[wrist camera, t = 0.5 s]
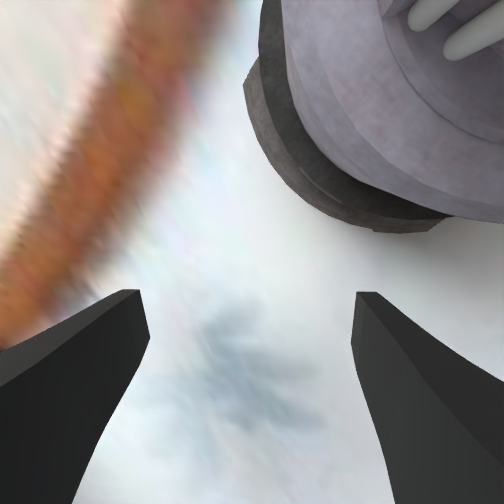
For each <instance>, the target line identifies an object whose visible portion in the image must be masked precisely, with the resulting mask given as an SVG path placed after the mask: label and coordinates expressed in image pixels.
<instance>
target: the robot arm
mask: <svg viewBox="0 0 504 504" xmlns="http://www.w3.org/2000/svg"><path fill="white" fill-rule="evenodd" d="M149 340H150V334H149V330H148V325H147V321H146V316H145V312H144V307H143V303H142V298H141V294H140V290H134V289H122V290H120V291H118V292H115V293H113V294H111V295H109V296H108V297H106V298H104V299H102V300H100V301H98V302H96V303H95V304H93V305H91V306H89V307H88V308H86V309H84V310H82V311H80V312H79V313H77V314H75V315H73V316H71V317H70V318H68V319H66V320H64V321H62V322H60V323H58V324H57V325H55V326H53V327H51V328H49V329H47V330H45V331H43V332H41V333H39V334H37V335H35V336H33V337H32V338H30V339H28V340H25V341H23V342H21V343H19V344H17V345H15V346H13V347H11V348H9V349H6V350H4V351H2V352H0V504H72V502H73V499H74V497H75V494H76V492H77V489H78V487H79V484H80V482H81V480H82V477H83V475H84V472H85V470H86V468H87V466H88V463H89V461H90V459H91V457H92V454H93V452H94V450H95V447H96V445H97V443H98V441H99V439H100V437H101V435H102V433H103V431H104V429H105V427H106V425H107V423H108V422H109V420H110V418H111V416H112V414H113V413H114V411H115V409H116V407H117V405H118V404H119V402H120V400H121V398H122V396H123V395H124V393H125V391H126V389H127V387H128V386H129V384H130V382H131V380H132V378H133V376H134V375H135V373H136V371H137V369H138V367H139V365H140V363H141V361H142V358H143V356H144V353H145V351H146V348H147V345H148V342H149ZM351 346H352V351H353V357H354V362H355V367H356V371H357V375H358V378H359V381H360V384H361V387H362V390H363V393H364V396H365V399H366V402H367V405H368V408H369V411H370V414H371V417H372V420H373V423H374V426H375V429H376V432H377V435H378V438H379V441H380V444H381V448H382V451H383V455H384V458H385V462H386V466H387V471H388V475H389V479H390V484H391V488H392V492H393V497H394V501H395V504H504V382H503V381H501V380H499V379H497V378H496V377H494V376H493V375H491V374H489V373H488V372H486V371H484V370H483V369H481V368H479V367H478V366H476V365H474V364H473V363H471V362H470V361H468V360H466V359H465V358H463V357H462V356H460V355H459V354H457V353H456V352H454V351H453V350H452V349H450V348H449V347H447V346H446V345H444V344H443V343H442V342H440V341H439V340H437V339H436V338H435V337H433V336H432V335H430V334H429V333H428V332H426V331H425V330H424V329H422V328H421V327H420V326H419V325H417V324H416V323H415V322H413V321H412V320H411V319H410V318H408V317H407V316H406V315H405V314H403V313H402V312H401V311H400V310H399V309H397V308H396V307H395V306H394V305H392V304H391V303H390V302H389V301H388V300H386V299H385V298H384V297H383V296H381V295H380V294H379V293H377V292H356V301H355V310H354V319H353V328H352V337H351Z"/></svg>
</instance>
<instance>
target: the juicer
mask: <svg viewBox="0 0 504 504" xmlns="http://www.w3.org/2000/svg"><path fill="white" fill-rule="evenodd" d="M258 48H259V57H258V58H257V60H256V61H255V63H254V65H253V66H252V68H251V69H250V72H249V74H248V75H247V78H246V79H245V82H244V83H243V89H244V94H245V99H246V105H247V110H248V115H249V117H250V120H251V123H252V126H253V129H254V131H255V134H256V137H257V140H258V142H259V144H260V145H261V147H262V149H263V151H264V153H265V154H266V156H267V158H268V160H269V162H270V163H271V165H272V166H273V167H274V169H275V170H276V171H277V172H278V174H279V175H280V176H281V177H282V179H283V180H284V181H285V182H286V184H287V185H288V186H289V187H290V188H292V189H293V190H294V191H295V192H296V193H297V194H298V195H299V196H301V197H302V198H303V199H304V200H305V201H306V202H308V203H309V204H311V205H313V206H314V207H316V208H318V209H319V210H321V211H322V212H324V213H326V214H327V215H329V216H332V217H334V218H337V219H339V220H342V221H344V222H347V223H349V224H352V225H357V226H361V227H366V228H370V229H372V230H373V231H374V232H384V233H399V234H401V233H413V232H425V231H428V230H429V229H431V228H432V227H433V226H435V225H436V224H437V223H440V222H441V221H442V220H444V219H445V218H448V217H454V216H458V217H462V218H466V219H472V220H479V221H485V222H492V223H504V0H263V4H262V8H261V14H260V28H259V42H258Z"/></svg>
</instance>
